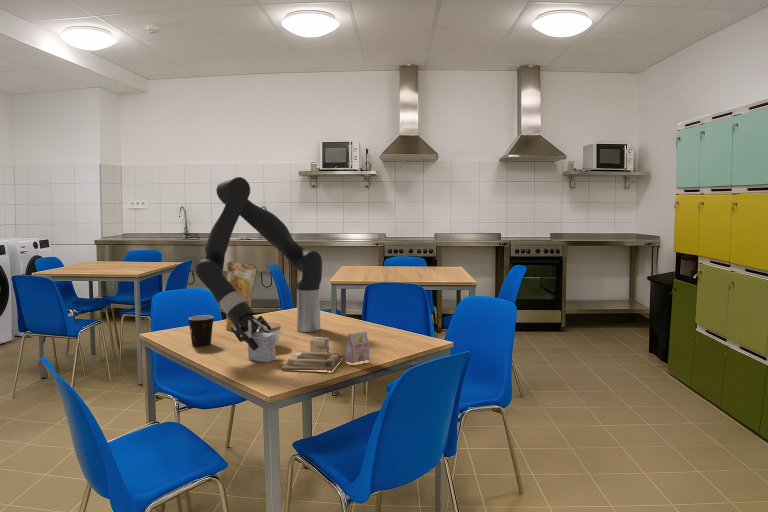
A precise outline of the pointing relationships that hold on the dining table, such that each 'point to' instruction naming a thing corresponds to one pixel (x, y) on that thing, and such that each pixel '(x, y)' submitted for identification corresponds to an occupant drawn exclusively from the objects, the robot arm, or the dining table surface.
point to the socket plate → (297, 367)
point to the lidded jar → (274, 330)
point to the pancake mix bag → (241, 282)
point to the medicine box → (263, 347)
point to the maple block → (319, 345)
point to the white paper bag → (357, 347)
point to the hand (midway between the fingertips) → (264, 345)
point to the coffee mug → (201, 330)
